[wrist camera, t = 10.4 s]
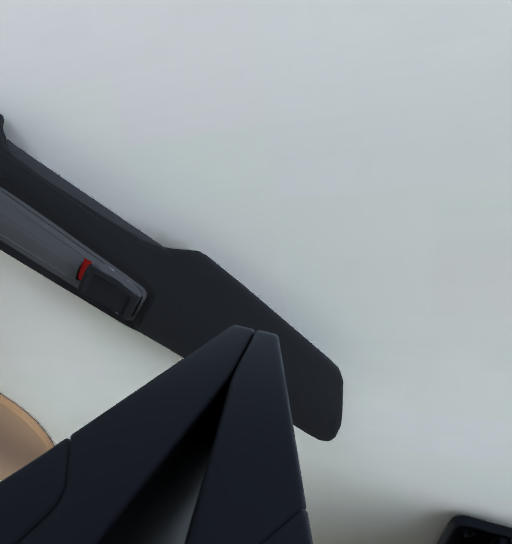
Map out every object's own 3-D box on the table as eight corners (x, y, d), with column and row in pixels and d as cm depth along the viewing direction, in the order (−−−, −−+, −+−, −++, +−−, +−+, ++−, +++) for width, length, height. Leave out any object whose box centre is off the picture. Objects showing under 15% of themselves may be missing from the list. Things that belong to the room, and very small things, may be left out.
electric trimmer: (309, 399, 17) (297, 470, 14) (-33, 180, 15) (-118, 214, 13) (371, 347, 15) (369, 418, 12) (-19, 88, 13) (-117, 105, 11)
